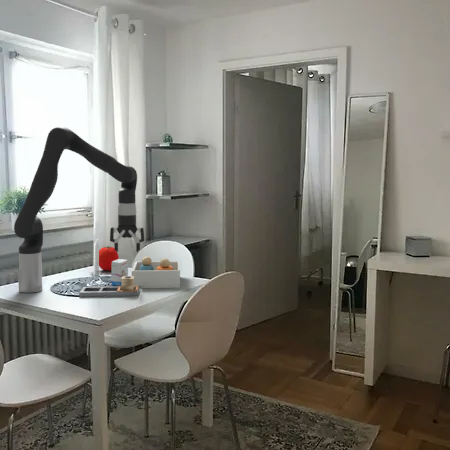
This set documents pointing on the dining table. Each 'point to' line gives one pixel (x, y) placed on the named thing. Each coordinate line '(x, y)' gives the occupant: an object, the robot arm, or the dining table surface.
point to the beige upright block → (127, 283)
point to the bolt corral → (157, 276)
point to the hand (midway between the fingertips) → (127, 251)
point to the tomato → (107, 257)
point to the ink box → (119, 270)
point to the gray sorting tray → (108, 292)
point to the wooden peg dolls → (146, 266)
